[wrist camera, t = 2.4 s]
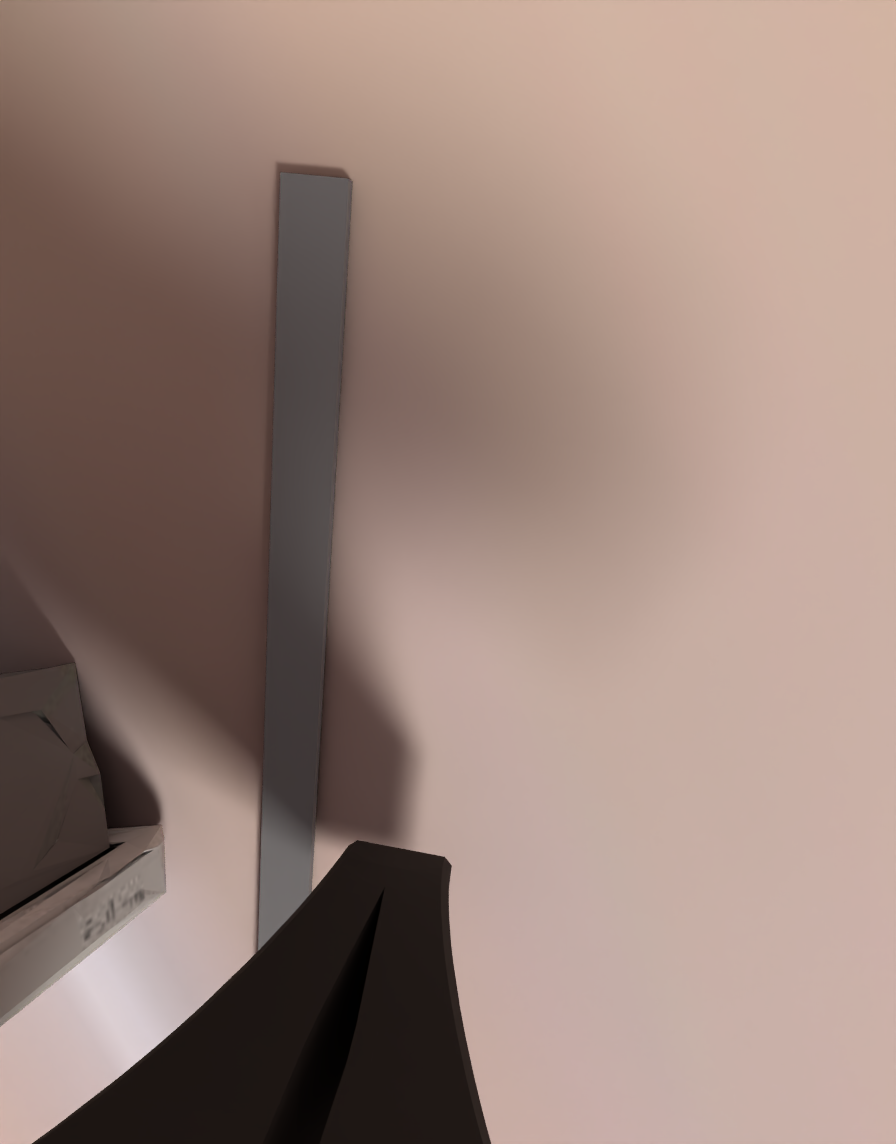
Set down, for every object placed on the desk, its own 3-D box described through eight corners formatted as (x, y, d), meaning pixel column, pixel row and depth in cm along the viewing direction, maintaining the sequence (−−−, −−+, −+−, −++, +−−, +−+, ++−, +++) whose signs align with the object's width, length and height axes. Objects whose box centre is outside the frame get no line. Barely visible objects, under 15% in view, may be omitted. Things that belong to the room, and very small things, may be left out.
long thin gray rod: (292, 1211, 14) (289, 1220, 14) (253, 1201, 14) (250, 1210, 14) (351, 181, 8) (348, 178, 8) (285, 174, 8) (280, 171, 8)
